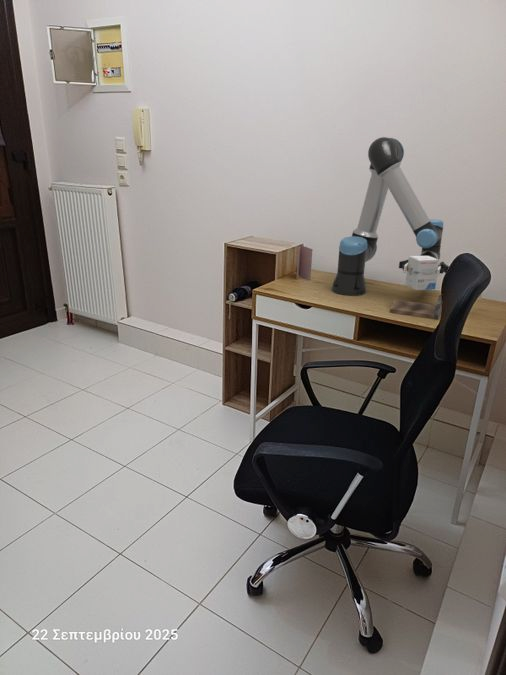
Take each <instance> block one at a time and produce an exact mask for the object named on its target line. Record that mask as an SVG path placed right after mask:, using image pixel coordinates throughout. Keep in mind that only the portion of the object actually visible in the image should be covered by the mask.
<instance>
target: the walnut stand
mask: <svg viewBox="0 0 506 675" xmlns="http://www.w3.org/2000/svg"><path fill="white" fill-rule="evenodd" d="M441 295H442V294H439V295H438V298H437V299H436V300H437V301H436V303H435V304H429V303H421V302H415V301H408V300H399V299H395V300H394V302H393V304H392V305H391V307H390V308H389V313H390V314H391V313H392V314H398V315H406V316H412V317H418V318H419V317H420V318H425V319H431V320H439V317H440V315H441V311H442V307H441Z"/></svg>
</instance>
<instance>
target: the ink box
mask: <svg viewBox="0 0 506 675" xmlns="http://www.w3.org/2000/svg"><path fill="white" fill-rule="evenodd" d="M408 259H409V260H408ZM408 259H407V260H408V268H407V272H406V275H405V284H404V285H405V286H407V287H409V288H410V289H412V290H414V291H421V290H422V291H423V290H425V291H426V290H436V286H437V285H436V284H437V279H438V277H436V275H437V269H438V265H439V263H440V259H439V260H438V259H436V258H433V257H430V256H420V255H409V256H408Z"/></svg>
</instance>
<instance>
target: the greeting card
mask: <svg viewBox="0 0 506 675" xmlns="http://www.w3.org/2000/svg"><path fill="white" fill-rule="evenodd" d="M296 262H297V263H296V272H295V274H296V279H298V278H299V276H300V277H302V276H303V278H305V279H306V280H309V281H311V280H312V279H311V278H312V277H311V276H312V264H313V263H312V262H313V249H312V248H310V247H307V246H305V245H300V246H299V247H298V250H297V261H296Z"/></svg>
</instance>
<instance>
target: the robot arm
mask: <svg viewBox="0 0 506 675" xmlns="http://www.w3.org/2000/svg"><path fill="white" fill-rule="evenodd" d="M367 153H368V154H367V157H368V160H369V162H370V166H369V168H368V169H369V171H370V173H371V175H370V179H369V182H368V187H367V189H366V190H367V191H366V194H365V198H364V202H363V205H362V208H361V213H360V216H359V220H358V224H357V228H355V229H353V230H352V232H351V233H352V234H351V236H347V237H344V238H342V239H341V240H340V242H339V247H338V251H339V252H338V260H337V262H338V263H337V273H336V276H335V278H334V280H333V282H332V286H331V291H332V292H333V293H336V294H339V295H345V296H362V295H365V294H366V293H367V284H366V280H365V269H366V268H365V267H366V262H369V261H371V260H372V259H373V258H374V256H375V255H376V252H377V249H378V245H377V242H378V240H379V235H378V233H377V230H378V227H379V222H380V220H381V216H382V211H383V209H384V204H385V200H386V199H387V198H386V197H387V195H388V192H390V194H391V195H392V197H393V199H394V201H395V202H396V203H397V206H398V207H399V209H400V211H401V212H402V214H403V216H404V218H405V220H406V222H407V223H408V226H410V228H411V231H412V232H413V235H414V236H415V241H416V244H417V245H418V246H419V247H420V248H421V252H420V255H419V256H430V257H433V258H436V259H438V260H439V265H438V269H437V275H436V277H437V278H439V276H440V275H441V274H444V273H445V274H447V273H446V272H447V270H448V268H449V269H450V266H449V265H447V263H446V264H445V262H444V261H441V262H440V259H441V246H442V245H441V244H442V237H443V232H444V231H443V230H444V221H443V220H441V219H435V218H434V219H429V216H428V215H427V213H426V211H425V209H424V208H423V206H422V204H421V203H420V200H419V199H418V196H417V195H416V193H415V192H414V190H413V188H412V185H411V184H410V183H409V181H408V179H407V177H406V176H405V174H404V172H403V170H402V168H401V164H402V161H403V158H404V155H405V150H404V146H403V144H402V143H401V142H400V141H399V140H398V139H396V138H393V137H387V136H385V137H384V136H383V137H378V138H376V139H375V140H374V141H373V142H372V143H371V144H370V146H369V147H368V152H367ZM388 190H389V191H388ZM408 260H409V258H408V259H404V260H402V261H399V264H398V268H399V269H401V270H402V271H403V272H402V274H407V268H408Z"/></svg>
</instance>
